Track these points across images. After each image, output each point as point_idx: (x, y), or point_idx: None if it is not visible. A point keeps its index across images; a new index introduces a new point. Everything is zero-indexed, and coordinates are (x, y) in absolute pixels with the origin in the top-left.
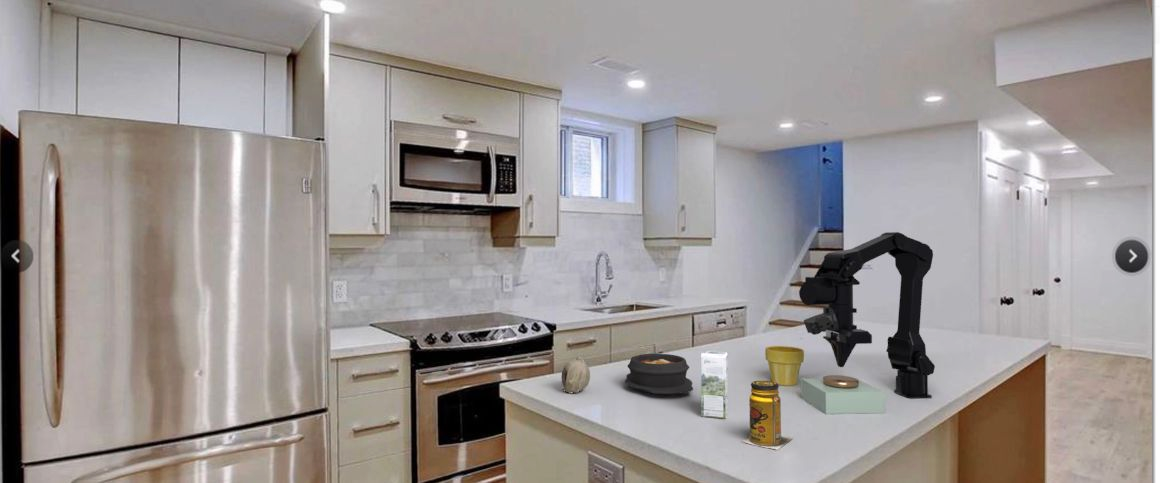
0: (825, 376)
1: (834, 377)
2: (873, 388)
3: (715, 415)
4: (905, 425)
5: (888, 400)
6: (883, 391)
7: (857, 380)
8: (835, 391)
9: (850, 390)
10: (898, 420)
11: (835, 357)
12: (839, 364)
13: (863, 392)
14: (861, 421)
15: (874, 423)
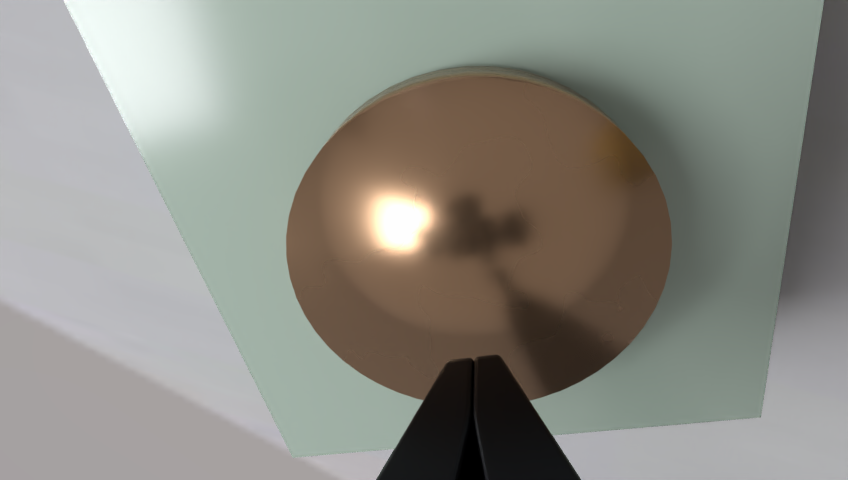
0: (607, 136)
1: (545, 228)
2: (375, 428)
3: None
4: (127, 365)
5: (599, 443)
6: (297, 454)
7: (424, 392)
8: (160, 111)
9: (254, 260)
10: (206, 365)
11: (537, 448)
12: (435, 386)
13: (233, 335)
14: (99, 183)
15: (91, 242)
